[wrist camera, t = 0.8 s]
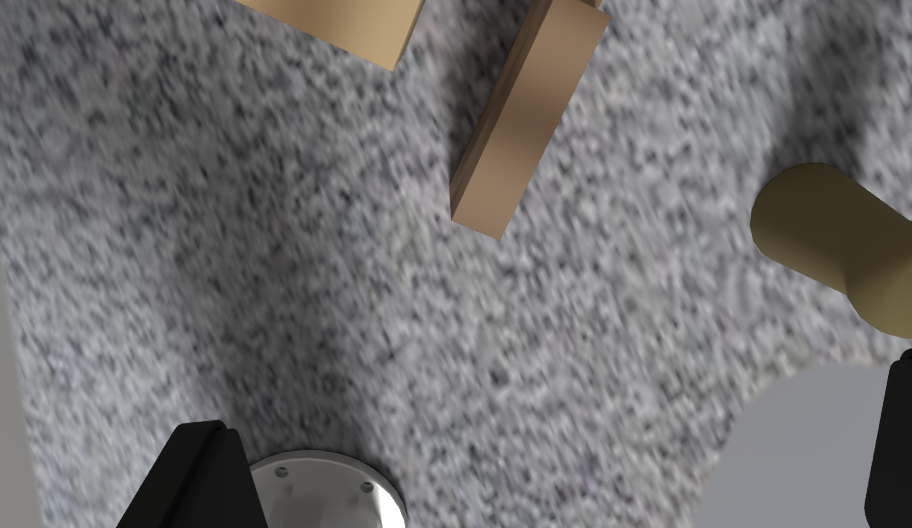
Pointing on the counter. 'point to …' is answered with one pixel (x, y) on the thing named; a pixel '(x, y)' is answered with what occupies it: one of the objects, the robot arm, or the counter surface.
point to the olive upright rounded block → (840, 241)
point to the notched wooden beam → (524, 111)
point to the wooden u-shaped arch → (351, 24)
